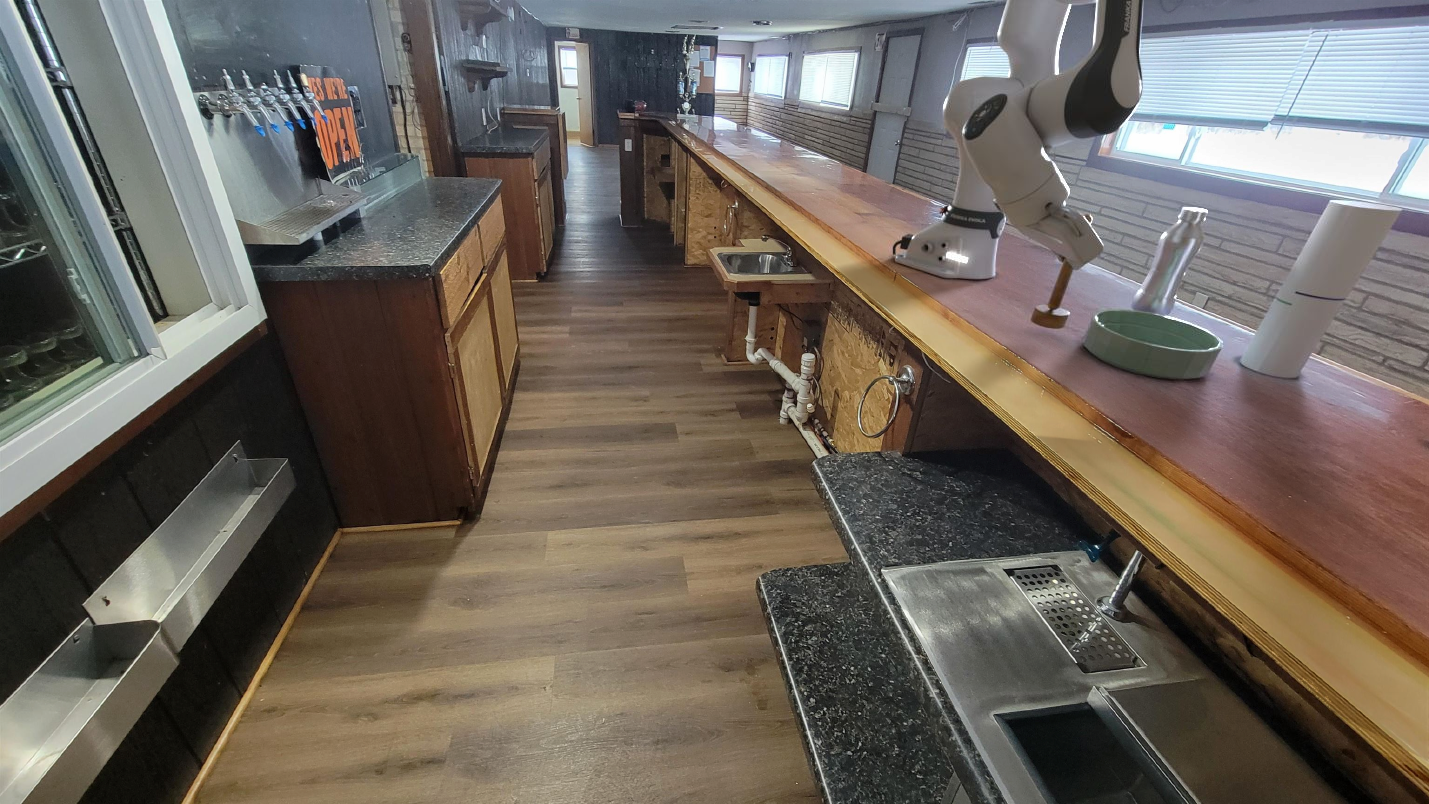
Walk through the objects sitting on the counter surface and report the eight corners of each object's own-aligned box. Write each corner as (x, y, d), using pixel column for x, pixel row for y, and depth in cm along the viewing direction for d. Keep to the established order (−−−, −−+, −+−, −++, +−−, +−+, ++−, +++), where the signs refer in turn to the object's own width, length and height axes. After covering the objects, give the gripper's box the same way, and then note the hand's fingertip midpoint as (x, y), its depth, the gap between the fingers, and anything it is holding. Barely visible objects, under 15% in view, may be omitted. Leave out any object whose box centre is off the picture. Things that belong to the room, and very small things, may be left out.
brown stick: (1026, 321, 97) (1064, 213, 88) (1036, 315, 100) (1074, 209, 91) (1058, 331, 94) (1101, 219, 85) (1068, 323, 97) (1110, 215, 88)
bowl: (1067, 354, 91) (1078, 325, 89) (1097, 328, 102) (1108, 302, 99) (1197, 393, 81) (1213, 362, 78) (1215, 360, 92) (1230, 331, 89)
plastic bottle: (1154, 311, 111) (1201, 206, 102) (1174, 324, 106) (1227, 214, 96) (1120, 309, 112) (1164, 204, 102) (1139, 321, 106) (1188, 211, 96)
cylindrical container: (1285, 381, 86) (1390, 211, 73) (1231, 362, 91) (1320, 201, 79) (1306, 373, 89) (1411, 208, 76) (1252, 355, 94) (1342, 199, 82)
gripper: (1092, 196, 77) (1132, 270, 82) (1022, 173, 94) (1059, 235, 99) (1048, 228, 79) (1090, 298, 84) (988, 199, 96) (1026, 259, 102)
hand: (1073, 263), depth 92 cm, fingers closed on brown stick
